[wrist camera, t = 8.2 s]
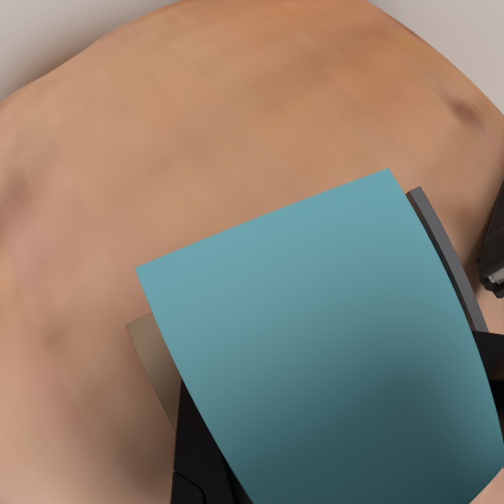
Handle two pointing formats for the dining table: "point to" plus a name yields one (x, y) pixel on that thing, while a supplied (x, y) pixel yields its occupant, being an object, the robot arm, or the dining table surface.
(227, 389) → the teal rectangular block
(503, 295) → the magazine
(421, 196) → the bookend
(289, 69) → the dining table surface
